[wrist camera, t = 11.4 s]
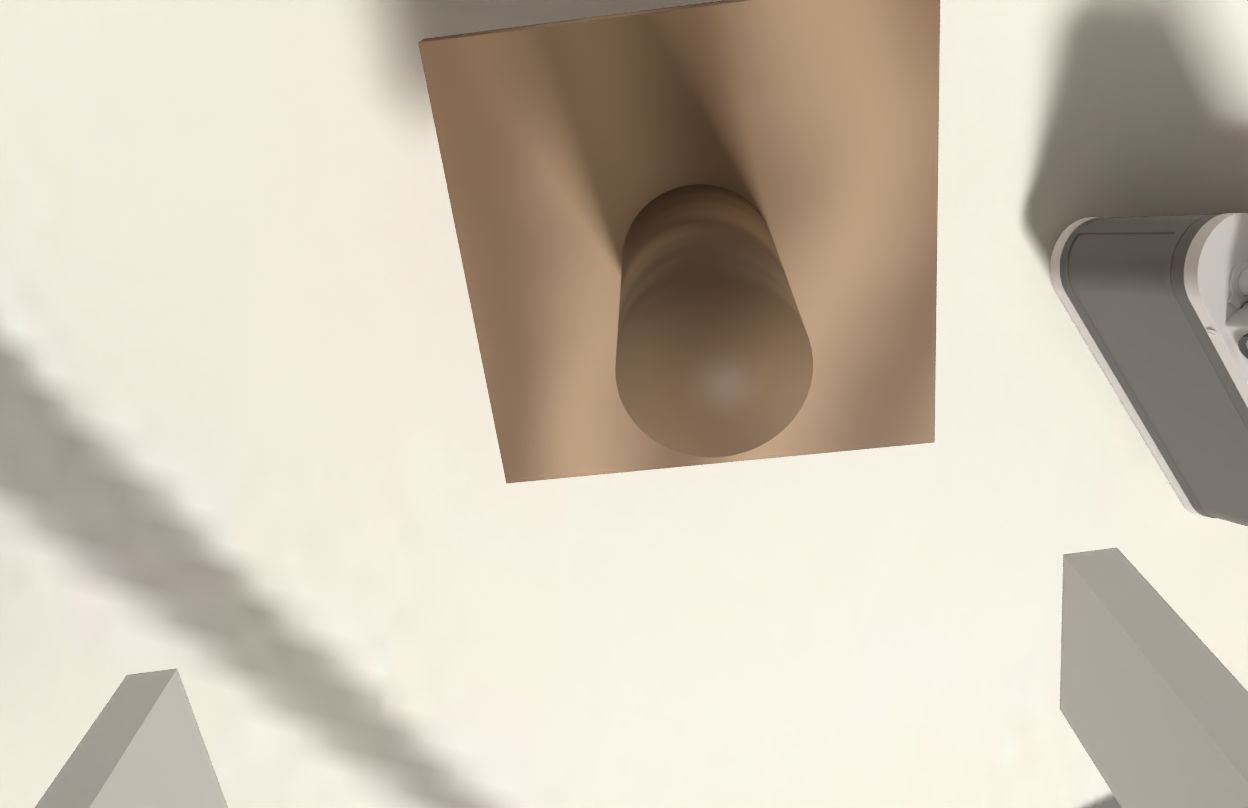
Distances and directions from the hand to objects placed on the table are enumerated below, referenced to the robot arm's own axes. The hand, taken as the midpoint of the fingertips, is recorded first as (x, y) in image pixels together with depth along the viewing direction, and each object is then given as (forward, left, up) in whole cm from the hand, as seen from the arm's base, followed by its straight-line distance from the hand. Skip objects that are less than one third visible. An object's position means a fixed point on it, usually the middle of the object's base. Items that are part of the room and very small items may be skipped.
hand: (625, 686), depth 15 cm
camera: (+25, -7, -31) cm, 40 cm away
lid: (+2, +2, -18) cm, 19 cm away
